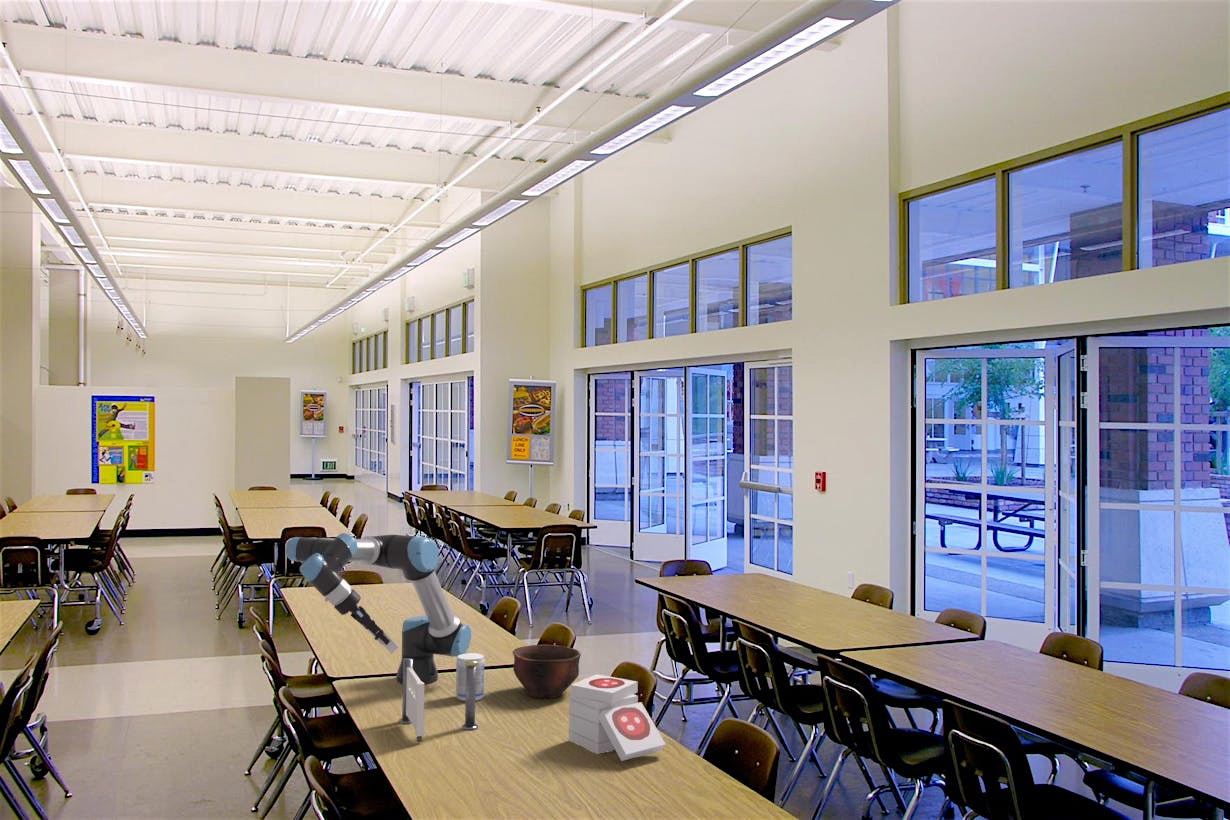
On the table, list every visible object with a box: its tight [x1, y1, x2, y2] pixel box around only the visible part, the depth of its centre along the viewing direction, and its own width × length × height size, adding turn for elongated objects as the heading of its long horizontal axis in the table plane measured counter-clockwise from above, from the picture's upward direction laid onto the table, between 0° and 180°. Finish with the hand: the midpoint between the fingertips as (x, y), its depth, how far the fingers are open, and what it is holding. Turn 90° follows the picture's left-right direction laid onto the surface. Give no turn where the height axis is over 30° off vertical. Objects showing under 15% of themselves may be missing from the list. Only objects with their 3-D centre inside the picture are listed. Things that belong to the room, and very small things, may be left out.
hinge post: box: [398, 658, 413, 725], centre depth 305 cm, size 5×5×20 cm
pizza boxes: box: [568, 673, 667, 762], centre depth 284 cm, size 19×30×18 cm, turn 38°
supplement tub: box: [455, 652, 485, 702], centre depth 332 cm, size 10×10×15 cm
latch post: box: [461, 660, 479, 731], centre depth 300 cm, size 5×5×21 cm
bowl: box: [512, 644, 582, 699], centre depth 339 cm, size 25×25×15 cm
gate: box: [406, 667, 425, 743], centre depth 293 cm, size 20×2×18 cm, turn 22°
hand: (390, 646), depth 291 cm, fingers open, 13 cm apart
